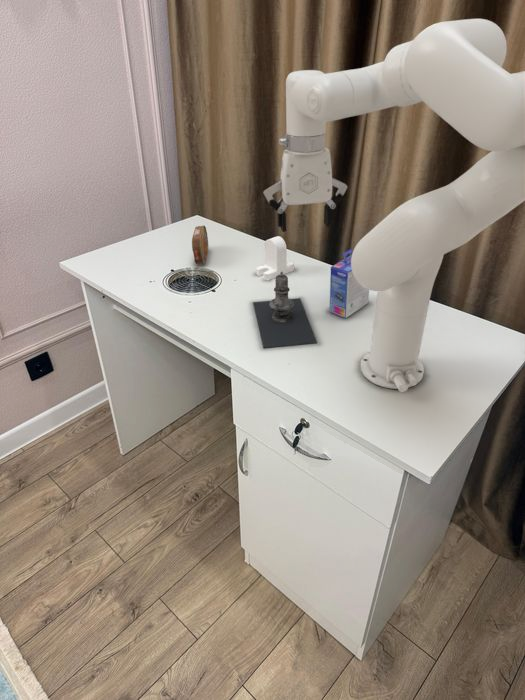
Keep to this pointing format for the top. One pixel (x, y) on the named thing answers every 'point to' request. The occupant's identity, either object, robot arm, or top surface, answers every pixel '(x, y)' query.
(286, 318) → the salt shaker
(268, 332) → the mat
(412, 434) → the top surface
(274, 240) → the cable organizer
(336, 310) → the ink cartridge box
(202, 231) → the tin
